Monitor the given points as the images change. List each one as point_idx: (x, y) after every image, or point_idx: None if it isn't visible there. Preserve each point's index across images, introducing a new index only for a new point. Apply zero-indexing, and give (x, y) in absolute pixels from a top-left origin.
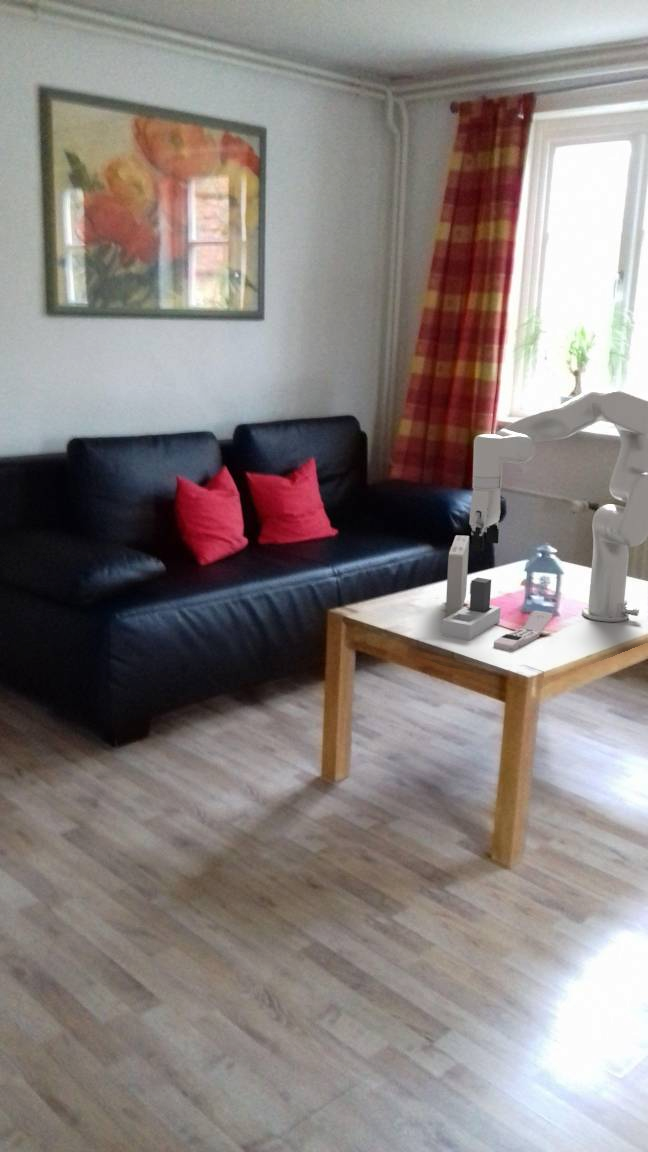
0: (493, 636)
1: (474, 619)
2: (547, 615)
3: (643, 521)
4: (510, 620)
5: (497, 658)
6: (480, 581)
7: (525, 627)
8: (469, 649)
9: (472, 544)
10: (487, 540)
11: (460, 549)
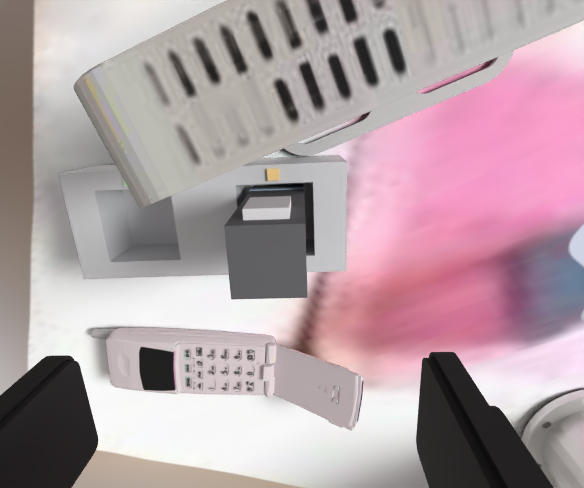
0: (223, 279)
1: (149, 261)
2: (342, 413)
3: None
4: (403, 256)
5: (73, 354)
6: (240, 270)
7: (286, 354)
8: (77, 275)
9: (12, 395)
10: (427, 374)
11: (307, 91)
